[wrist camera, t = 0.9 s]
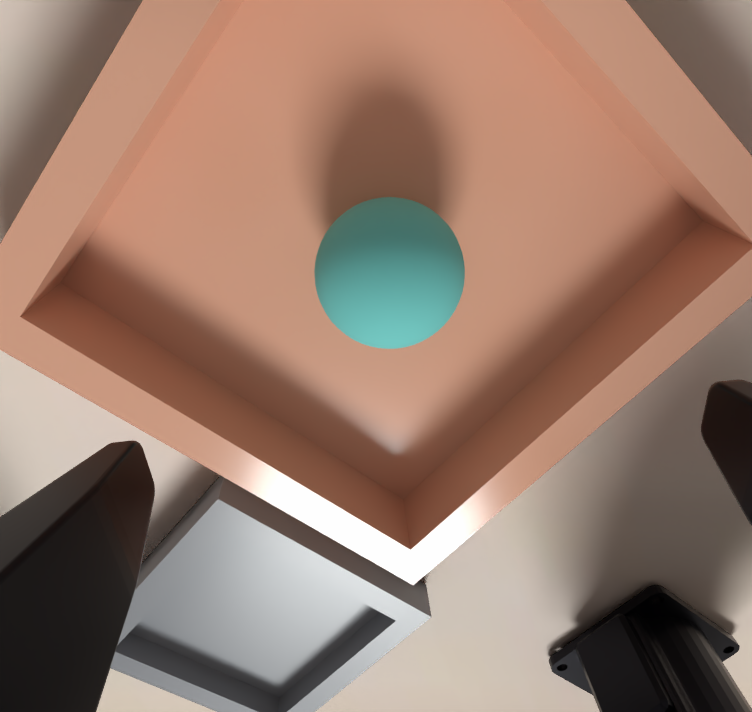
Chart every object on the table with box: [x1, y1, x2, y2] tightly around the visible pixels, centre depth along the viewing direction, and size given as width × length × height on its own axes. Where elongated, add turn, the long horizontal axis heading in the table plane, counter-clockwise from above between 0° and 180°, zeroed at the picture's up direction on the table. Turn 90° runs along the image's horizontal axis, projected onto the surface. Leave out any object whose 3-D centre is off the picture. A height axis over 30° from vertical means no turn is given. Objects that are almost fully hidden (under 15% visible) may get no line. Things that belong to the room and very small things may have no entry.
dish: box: [0, 0, 752, 585], centre depth 16 cm, size 16×16×3 cm
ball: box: [314, 197, 465, 349], centre depth 16 cm, size 4×4×4 cm
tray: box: [110, 476, 431, 712], centre depth 24 cm, size 10×10×2 cm
